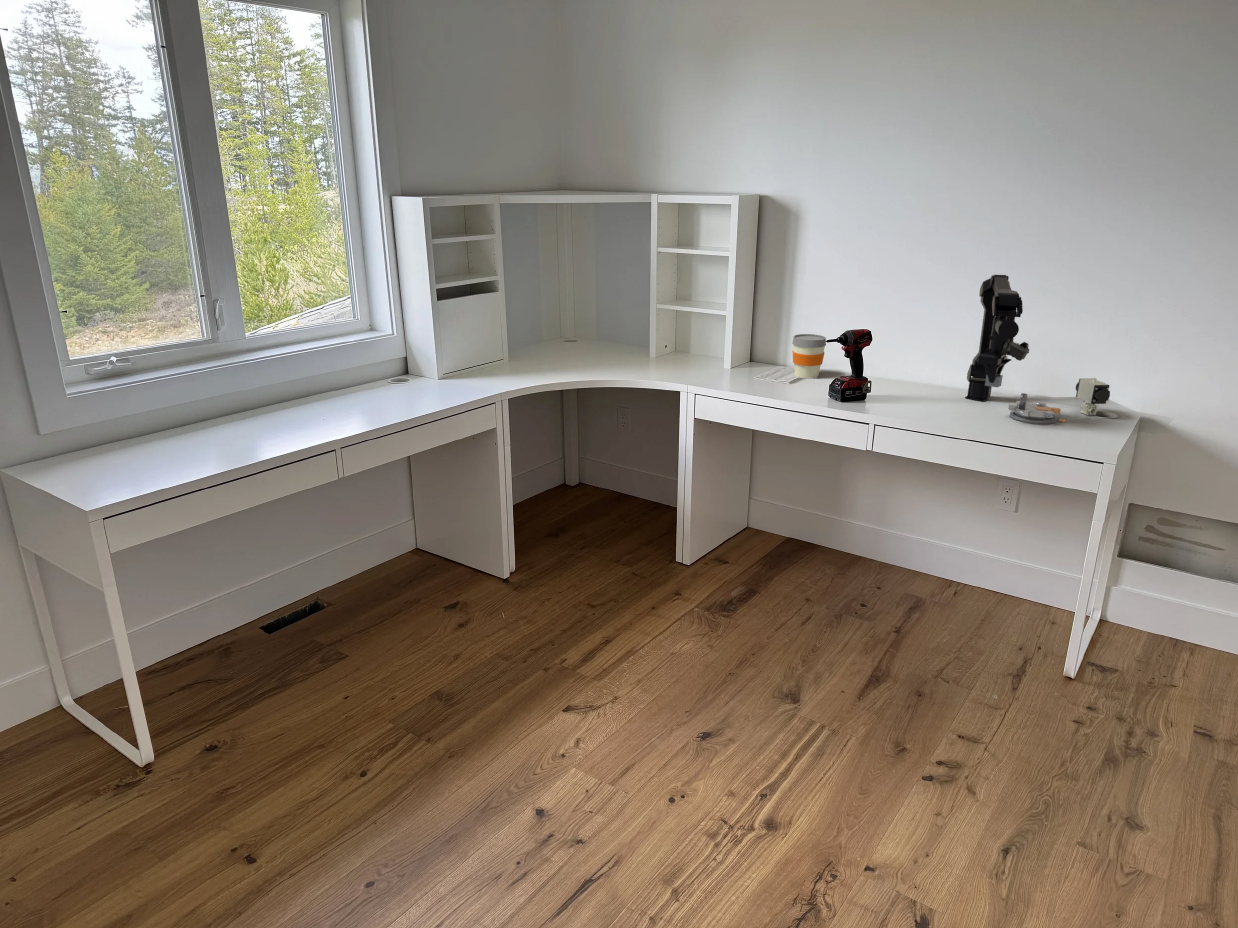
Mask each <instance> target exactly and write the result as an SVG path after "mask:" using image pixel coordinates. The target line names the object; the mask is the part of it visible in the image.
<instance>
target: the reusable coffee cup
mask: <svg viewBox="0 0 1238 928" xmlns="http://www.w3.org/2000/svg"><path fill="white" fill-rule="evenodd" d="M791 343H792V346H793V349H792V363H793V365H794V366H793V367H794V377H797V378H800V379H816V378H818V377H819V375H820V374H819V373H820V370H821V366H822V365H823V361H824V356H825V348H826V346H827V337H826V336H824V335H821V334H813V333H802V334H801V333H799V334H795V335H793V337H792V342H791Z"/></svg>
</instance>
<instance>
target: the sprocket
mask: <svg viewBox="0 0 1238 928" xmlns="http://www.w3.org/2000/svg"><path fill="white" fill-rule="evenodd" d="M1027 397H1028V393H1026V392H1021V393H1020V400H1016V401H1015V404H1008V406H1007V410H1008V411H1013V413H1014V414H1015V415H1017V416H1020V417H1024V418H1028V419H1037V420H1048V419H1052V418H1054V416H1055V415H1060V414H1061V409H1062V408H1060V407H1050V406H1047V405H1046V404H1047V403H1046V402H1042V401H1039V402H1037V403H1027V399H1028V398H1027Z"/></svg>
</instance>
